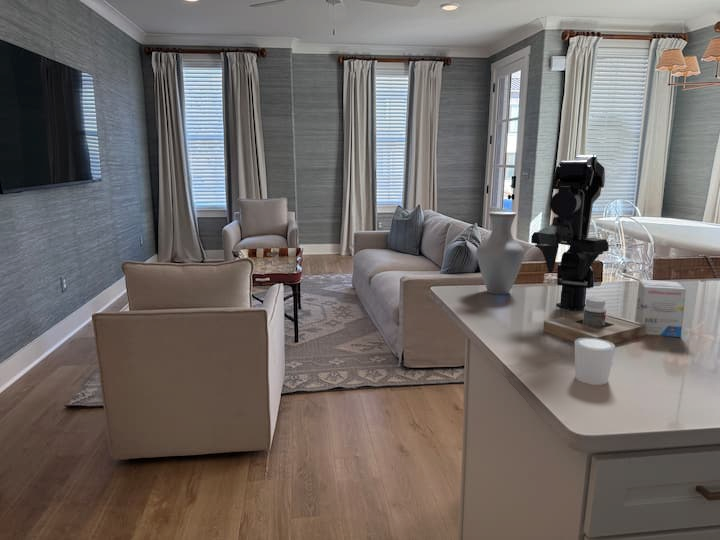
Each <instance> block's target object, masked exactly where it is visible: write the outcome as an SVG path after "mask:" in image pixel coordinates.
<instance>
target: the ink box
mask: <svg viewBox="0 0 720 540" xmlns="http://www.w3.org/2000/svg"><path fill="white" fill-rule="evenodd" d="M686 292H687V291H686V288H684V286H683V285H681V284H680V283H679V282H677V281H668V280H667V281H666V280H656V279H655V280H653V279H651V280H650V279H642V278H641V279H639V280H638V290H637V298H636V307H635V315H634V321H635V322H639V323H642V324H646V332H645V336H646V335H648V336H659V337H672V338H673V337H674V338H675V337H676V338H682V330H683V329H682V328H683V321H684V312H685V303H686Z"/></svg>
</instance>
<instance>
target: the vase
mask: <svg viewBox="0 0 720 540" xmlns="http://www.w3.org/2000/svg"><path fill="white" fill-rule="evenodd" d="M488 215H489V218H490V223H491V233H490V235H489V237H488V238H487V239H486V240H484V241H483V242H482V243H480V244H479V245H478V247H477V248H476V259H477V261H478V267H479V270H480V274H481V277H482V280H483V283H484V285H485V288H486V290H487V293H489V294H493V295H499V296H500V295H507V294H510V291H511V289H512V288H513V286H514V284H515V282H516V279H517V277H518V276H519V272H520V269H521V267H522V265H523V261H524V259H525V253H526V252H525V248H524V247H523V246H522V245H521V244H520V243H519V242H517V240H515V238H514V237H513V235H512V224H513V222H514V219H515V217H516V216H517V212H512V211H489V212H488Z"/></svg>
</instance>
